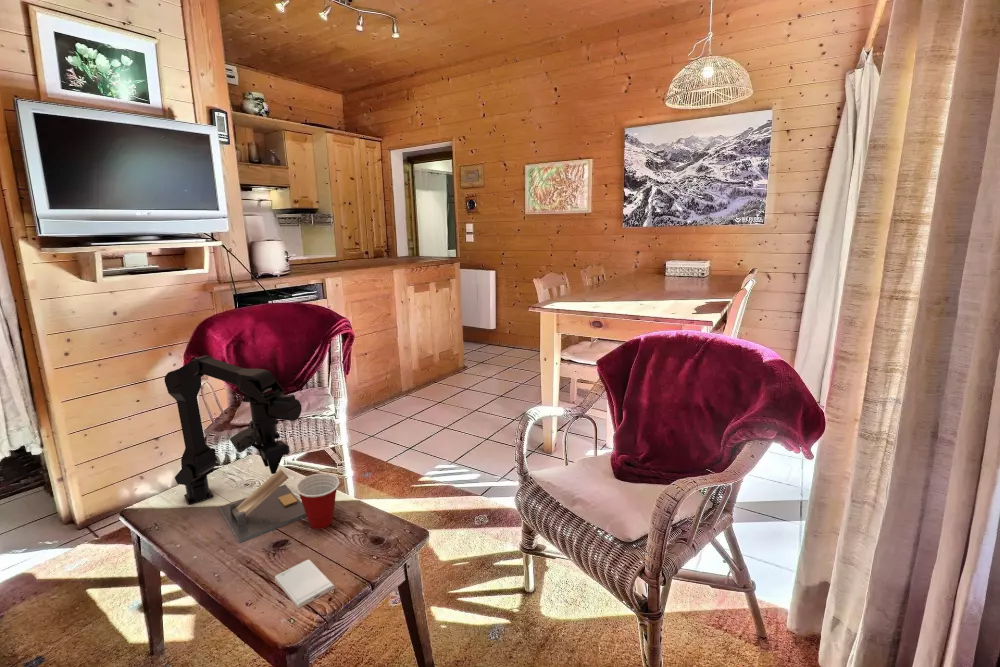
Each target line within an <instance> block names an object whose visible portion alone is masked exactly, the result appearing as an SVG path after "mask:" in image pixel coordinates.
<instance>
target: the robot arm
mask: <svg viewBox="0 0 1000 667" xmlns="http://www.w3.org/2000/svg"><path fill="white" fill-rule="evenodd" d="M203 376H208V377H211V378H213V379H216V380H219V381H223V382H225V383H228V384H231V385H234V386H236V387H237V389H238V390H239V391H240V392H241V393H243V394H245V395H246V396H245V397H244V398H242V402H243V403H249V408H250V413H251V414H250V416H251V420H250V422H248V424H249V427H247V428H245V429H243V430H241V431H239V432H237V433H236V434H234V435H233V436H231V437H230V438H229V441H230V443H231V444H232V445H233V447H234V449H235V450H236V451H237V453H239V454H240V453H243V452H244V451H245V450H247V449H249V448H250V447H253V448H255V449H256V450H257V451H258V453H259V455H260V458H261V460H262V462H263V465H264V467H265V468H266V467H268V468H269V471H270V473H271V475H274V474H275V473H276V472H277V471H278V470H279V465H280V463H281V461H282V459H283V456H285V455H289V454H290V446H289V445H288V444H287V442H285V441H283V440H282V439H280V438H281V436H280V432H278V429H277V425H279V420H282V421H293V422H295V421H297V420H298V419H299V418H300V417H301V413H302V409H303V408H302V404H301V402H300V400H299V399H297V398H296V395H295V394H285V393H286V391H285V390H284V388H283V387H282V385H281V384H280V383H279V382H278V380H277V379H276V377H275V376H274V375H273V373H272V372H271V371H270V370H268V369H263V368H244V367H240V366H237V365H234V364H232V363H229V362H225V361H223V360H219V359H216V358H213V357H212V356H211V355H202V356H199V357H196V358H193V359H191V360H190V361H189V362H187V363H186V364H184V365H183V366H181V367H179V368H177V369H173V370H171V371H169V372H167V373H166V375H165V376H164V379H163V380H164V384H165V387H166V390H167V393H168V394H169V396H171V397H172V398H173V399H174V400H175V402H176V405H177V410H178V415H179V419H180V421H179V422H180V426H181V430H182V436H183V441H184V447H185V449H184V451H183V453H182V456H181V460H180V461H181V462H180V465H181V469H180V470H179V472H178V473H177V474H176V475H175V476H174V480H175V482H176V484H177V485H183V486H185V487H184V488H185V494H184V495H183V496H184V499H185V501H186V503H187V505H193V504H195V503H199V502H201V501H205V500H207V499H211V498H213V497H214V493H213V492H212V490H211V489H210V487H209V480H208V475H210V474H211V473H214V470H215V466H216V465H217V461H218V458H217V455H216V449H215V448H214V447H210V446H209V445H208V444H206V439H205V433H204V428H203V424H202V418H201V410H200V406H199V400H198V395H199V393H200V391H201V388H202V377H203ZM277 439H280V440H277Z"/></svg>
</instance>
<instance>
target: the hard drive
mask: <svg viewBox="0 0 1000 667" xmlns="http://www.w3.org/2000/svg"><path fill="white" fill-rule="evenodd" d="M274 580H275V582H276V583H277V584H278V586H279V587H280V589H282V591H283V592H284V593H285V595H286V596H288V598H289V599H290V600H291V602H292V603H293V604H294V605H295V606H296V608H297V609H301V608H302V607H304V606H306V605H308V604H310V603H311V602H313V601H315V600H317V599H318V598H320V597H322V596H324V595H326V594H328V593H329V592H331V591H333V590H335V585H334V583H333V582H331V580H330V579H329V578H328V577H327V576H326V575H325V574H324V573H323V572H322V571H321V570H320V569H319V567H317V566H316V565H315V564H314V562H312V561H311V559H306V560H303V561H301V562H300V563H298V564H296V565H294V566H292V567H290V568H288V569H286V570H284V571H283V572H279V573H278V574H276V575H275V576H274Z"/></svg>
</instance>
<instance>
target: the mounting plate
mask: <svg viewBox="0 0 1000 667" xmlns="http://www.w3.org/2000/svg"><path fill="white" fill-rule="evenodd" d="M248 497H249V496H247V497H243V498H241V499H238V500H235V501H231V502H228V503H227V504H223V505H220V506H219V510H220V513H221V514H222V516H223V518H224V519H225V521H226V523H227V525H228V527H229V528H230V530H231V532H232V533H233V535H234V537H235V538H236V541H237V542H238V544H240V543H243V542H245V541H247V540H251V539H253V538H255V537H257V536H261V535H263V534H265V533H269V532H271V531H274V530H276V529H279V528H282V527H284V526H285V525H289V524H291V523H294V522H296V521H299V520H302V519H304V518H305V519H306V518H307V516H306V513H305V510H304V506H303V503H302V501H300V499H299V498H298V497H297V496H296V495H295V494H294V492H292V490H291V489H290V488H289V487H288V486H287V485H286V484H281V485H280V486H279V487H278V488H277V489H276V490H275V491H274V492H272V493H271V494H270V495H269V496H268V497H267V498H266V499H265V500H264V501H262V502H261V503H260V504H259V505H258V506H257V507H256V508H255V509H254V510H252V511H251V512H250V513H249V514H248V515H247V516H246V515H245V512H244V511H242V512H240V513H237V514H236V518H235V516H234V515H233V513H232V510H233V509H234V508H236V507H238V506H239V505H240V504H241V503H242V502H243V501H244V500H245V499H247V498H248ZM236 519H237V520H236Z"/></svg>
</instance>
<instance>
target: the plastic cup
mask: <svg viewBox="0 0 1000 667" xmlns="http://www.w3.org/2000/svg"><path fill="white" fill-rule="evenodd" d="M339 485H340V479H339V478H338V477H337V476H336V475H334V474H332V473H331V474H330V473H325V472H324V473H322V472H321V473H316V474H315V473H313V474H310V475H308V476H305V477H304V478H302V479H300V480H299V481H298V482H297V484H296V485H295V491H296V492H297V493H298V495H299V497H300V500H301V503H302V504H303V506H304V510H305V513H306V516H307V517H306V518H307V520H308V523H309V526H310V527H311V529H314V530H323V529H326V528H328V527H329V526H331V525H332V524H331V523H333V522H332V521H334V515H335V514H334V512H335V505H336V496H337V495H336V494H337V491H338V488H339ZM330 524H331V525H330Z"/></svg>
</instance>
